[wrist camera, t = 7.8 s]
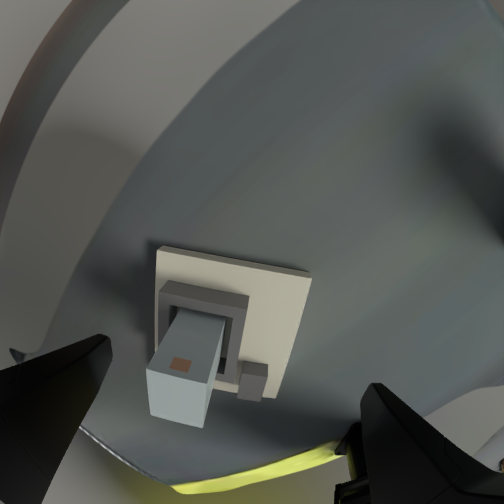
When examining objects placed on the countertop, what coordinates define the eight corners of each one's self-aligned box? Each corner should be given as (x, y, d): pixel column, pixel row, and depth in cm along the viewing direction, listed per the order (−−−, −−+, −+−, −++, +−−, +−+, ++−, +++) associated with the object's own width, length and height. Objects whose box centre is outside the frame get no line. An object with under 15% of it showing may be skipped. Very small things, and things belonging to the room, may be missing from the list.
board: (275, 389, 24) (275, 414, 21) (159, 366, 24) (148, 388, 21) (309, 272, 20) (316, 290, 17) (162, 245, 21) (145, 259, 17)
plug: (221, 351, 22) (202, 428, 14) (183, 343, 22) (150, 414, 14) (228, 308, 20) (207, 383, 13) (185, 299, 20) (146, 368, 13)
